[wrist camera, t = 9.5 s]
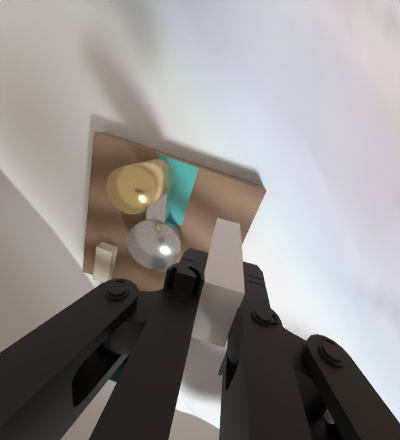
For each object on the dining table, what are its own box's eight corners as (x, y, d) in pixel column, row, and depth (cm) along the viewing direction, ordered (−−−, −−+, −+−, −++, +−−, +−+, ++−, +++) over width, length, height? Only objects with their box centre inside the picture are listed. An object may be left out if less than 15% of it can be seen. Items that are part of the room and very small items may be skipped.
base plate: (210, 307, 35) (207, 325, 31) (90, 264, 35) (75, 277, 32) (264, 187, 26) (268, 193, 23) (104, 132, 27) (85, 131, 23)
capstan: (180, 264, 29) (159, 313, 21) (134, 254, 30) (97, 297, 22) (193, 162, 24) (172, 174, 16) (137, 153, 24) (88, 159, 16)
